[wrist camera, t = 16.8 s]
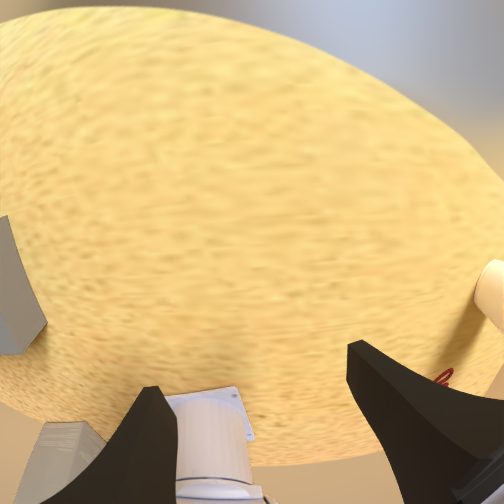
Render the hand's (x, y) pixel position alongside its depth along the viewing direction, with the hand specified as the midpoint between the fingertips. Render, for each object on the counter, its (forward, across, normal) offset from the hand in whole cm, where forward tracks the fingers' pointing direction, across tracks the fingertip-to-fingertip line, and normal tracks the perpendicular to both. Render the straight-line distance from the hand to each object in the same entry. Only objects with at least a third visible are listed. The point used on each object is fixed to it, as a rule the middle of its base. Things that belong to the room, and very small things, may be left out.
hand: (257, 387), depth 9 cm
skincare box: (+10, +24, +17) cm, 31 cm away
